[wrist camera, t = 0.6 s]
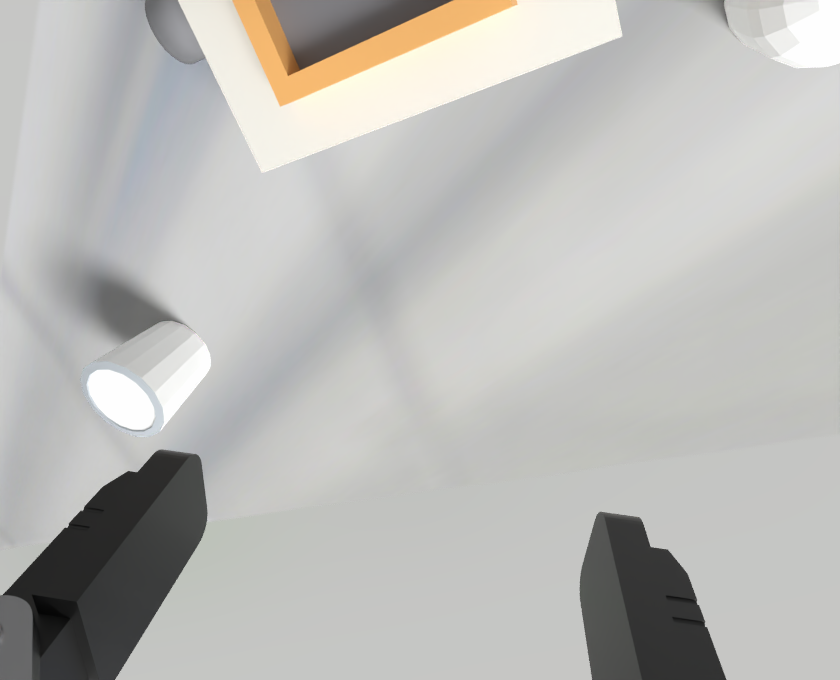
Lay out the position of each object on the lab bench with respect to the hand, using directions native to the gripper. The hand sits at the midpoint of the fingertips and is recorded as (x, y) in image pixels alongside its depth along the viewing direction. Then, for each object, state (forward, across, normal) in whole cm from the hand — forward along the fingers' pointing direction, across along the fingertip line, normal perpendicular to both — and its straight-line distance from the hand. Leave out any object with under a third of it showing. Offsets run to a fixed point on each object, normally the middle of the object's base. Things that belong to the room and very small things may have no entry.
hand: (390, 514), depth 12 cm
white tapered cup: (+31, +22, +15) cm, 40 cm away
